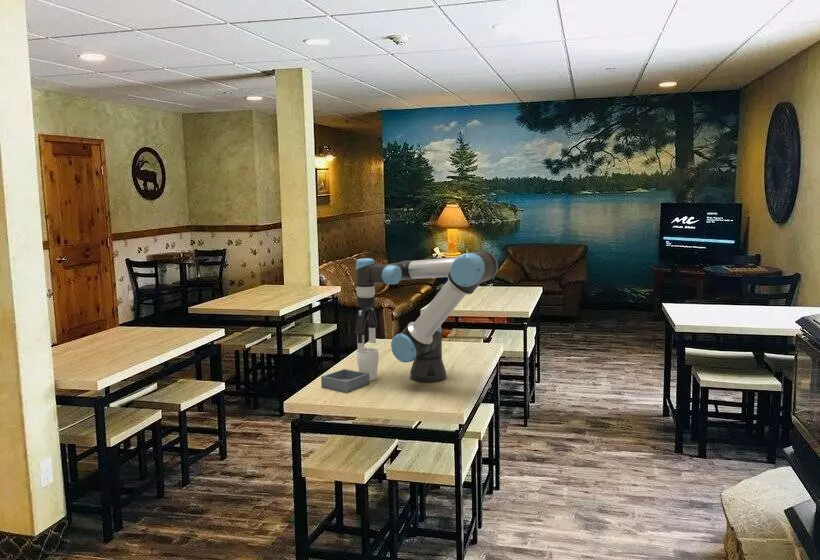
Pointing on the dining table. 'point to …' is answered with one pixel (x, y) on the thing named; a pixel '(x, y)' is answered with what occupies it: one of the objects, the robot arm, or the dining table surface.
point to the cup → (368, 362)
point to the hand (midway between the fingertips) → (366, 346)
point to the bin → (345, 380)
